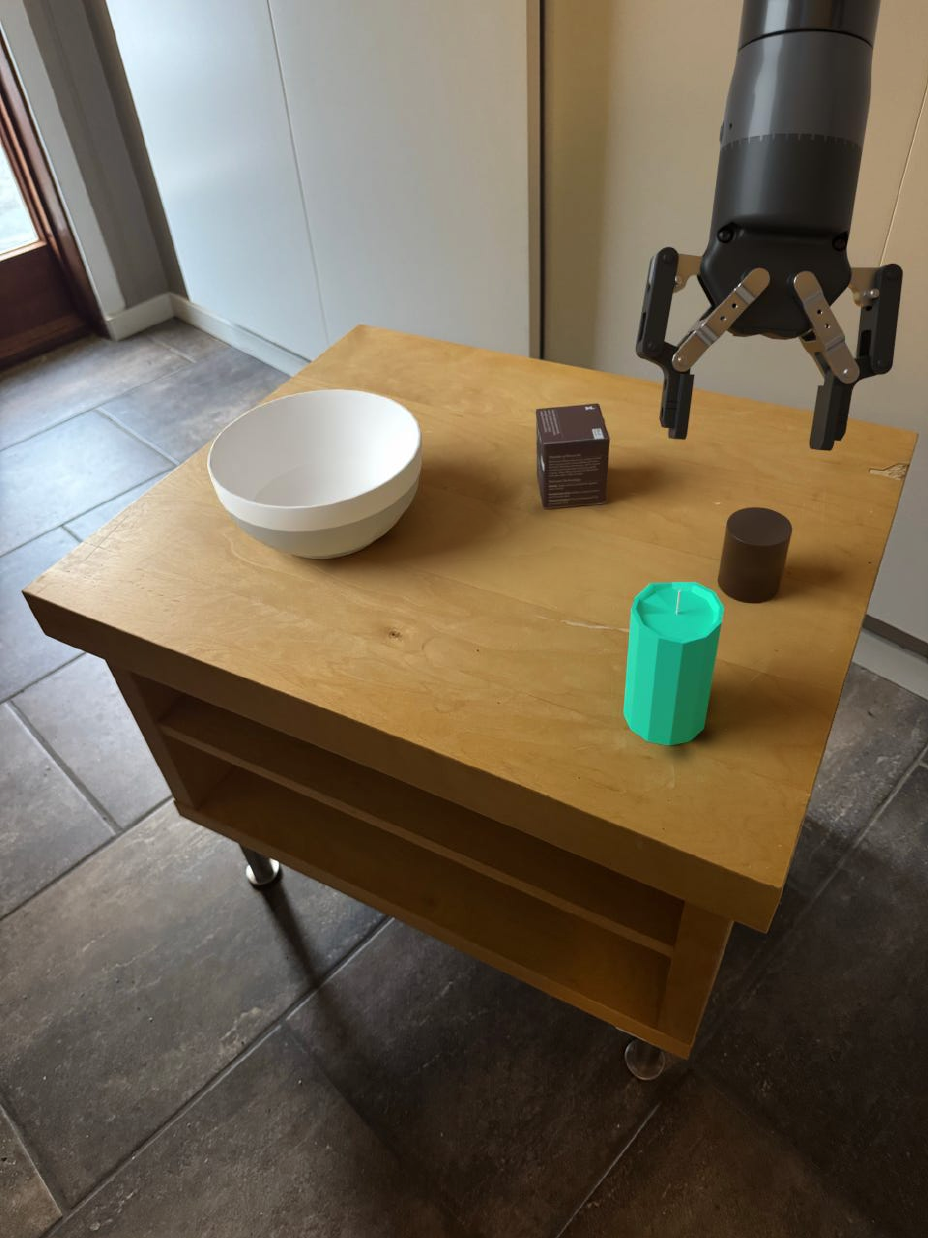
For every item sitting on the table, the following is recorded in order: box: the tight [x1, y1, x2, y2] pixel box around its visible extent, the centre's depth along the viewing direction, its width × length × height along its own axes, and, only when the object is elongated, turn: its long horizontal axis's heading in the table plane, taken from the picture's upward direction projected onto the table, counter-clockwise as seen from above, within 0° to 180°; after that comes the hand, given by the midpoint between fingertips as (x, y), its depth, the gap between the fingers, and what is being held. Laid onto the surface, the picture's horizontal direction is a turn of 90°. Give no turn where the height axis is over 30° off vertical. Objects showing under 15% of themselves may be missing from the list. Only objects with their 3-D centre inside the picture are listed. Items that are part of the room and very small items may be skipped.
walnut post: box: [717, 506, 793, 604], centre depth 76 cm, size 5×5×6 cm
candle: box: [622, 581, 725, 747], centre depth 64 cm, size 6×6×12 cm
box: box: [535, 403, 611, 510], centre depth 86 cm, size 6×6×7 cm
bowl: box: [206, 388, 423, 560], centre depth 85 cm, size 19×19×9 cm
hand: (749, 444), depth 55 cm, fingers open, 8 cm apart
